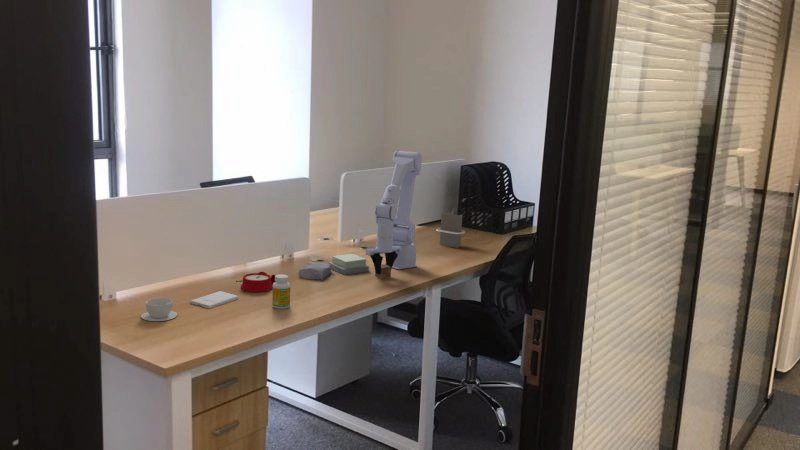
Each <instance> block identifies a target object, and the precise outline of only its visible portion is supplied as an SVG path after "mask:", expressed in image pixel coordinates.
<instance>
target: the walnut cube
mask: <svg viewBox="0 0 800 450" xmlns="http://www.w3.org/2000/svg"><path fill="white" fill-rule="evenodd" d="M391 273H392V269H391V267H390V266H388V265H386V263H385V264H383V263H381V272H380V274H377V273H374V275H375V277H377V278H379V279H387V278H388V279H389V278H391Z"/></svg>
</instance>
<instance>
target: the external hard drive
mask: <svg viewBox="0 0 800 450" xmlns="http://www.w3.org/2000/svg"><path fill="white" fill-rule="evenodd" d="M236 300H239V296H238V295H236V294H232V293H228V292H225V291H221V290H219V291H216V292H213V293H210V294H207V295H203V296H201V297H198V298H194V299H191V300H189V303H190V304H192V305H194V306H200V307H202V308H206V309H212V308H215V307H218V306H221V305H224V304H228V303H231V302H233V301H236Z"/></svg>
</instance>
